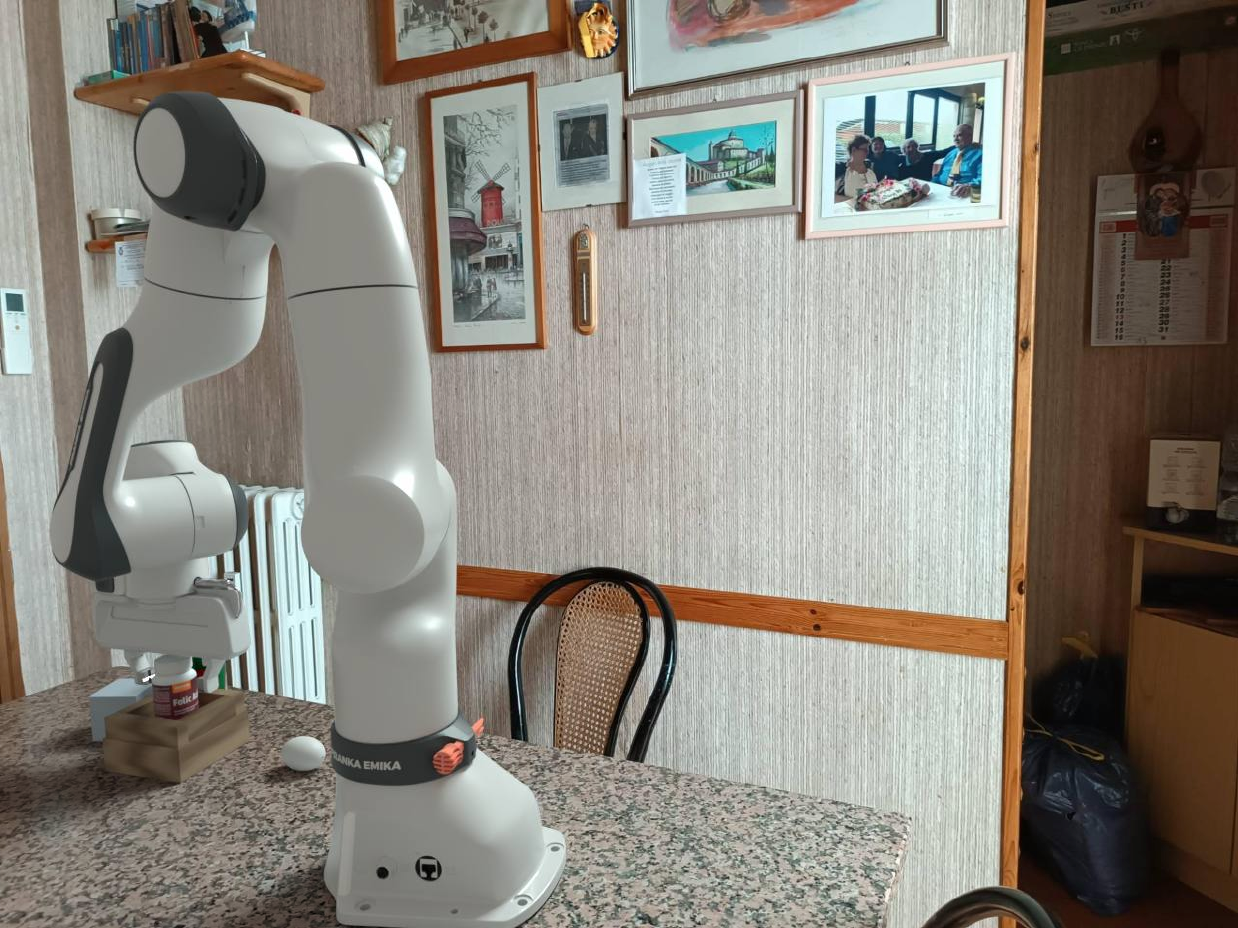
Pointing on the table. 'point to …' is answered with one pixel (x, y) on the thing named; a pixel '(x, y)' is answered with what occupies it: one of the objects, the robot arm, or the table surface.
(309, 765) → the egg
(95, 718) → the slate block
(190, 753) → the wooden open box
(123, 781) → the table surface
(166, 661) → the pill bottle
